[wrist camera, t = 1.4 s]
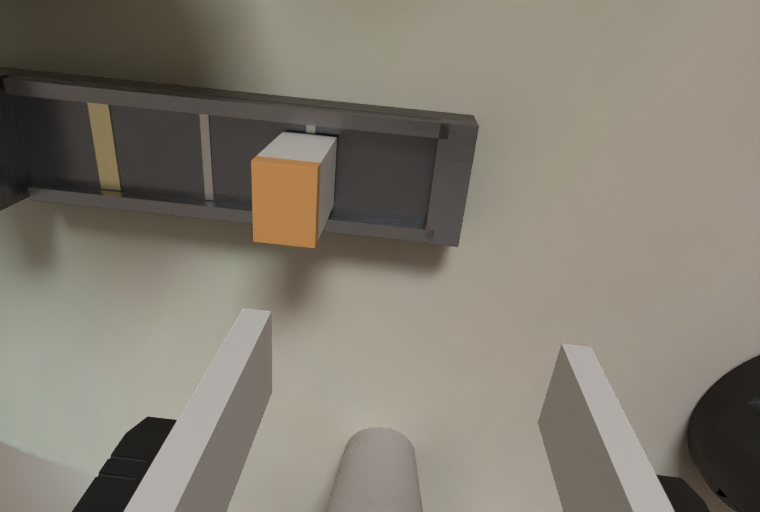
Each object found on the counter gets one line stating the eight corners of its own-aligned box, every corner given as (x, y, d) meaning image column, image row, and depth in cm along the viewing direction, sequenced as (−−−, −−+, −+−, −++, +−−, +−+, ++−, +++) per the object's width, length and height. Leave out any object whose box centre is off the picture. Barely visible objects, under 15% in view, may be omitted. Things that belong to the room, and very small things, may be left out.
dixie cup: (308, 451, 42) (278, 571, 33) (378, 397, 39) (366, 513, 30) (381, 503, 44) (372, 630, 35) (453, 456, 41) (462, 581, 32)
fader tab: (333, 205, 30) (314, 248, 24) (283, 199, 30) (253, 241, 25) (336, 137, 28) (317, 167, 23) (283, 131, 28) (251, 160, 23)
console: (454, 227, 32) (462, 270, 27) (24, 180, 33) (-52, 214, 28) (473, 115, 29) (485, 139, 24) (-2, 67, 30) (-94, 79, 25)
